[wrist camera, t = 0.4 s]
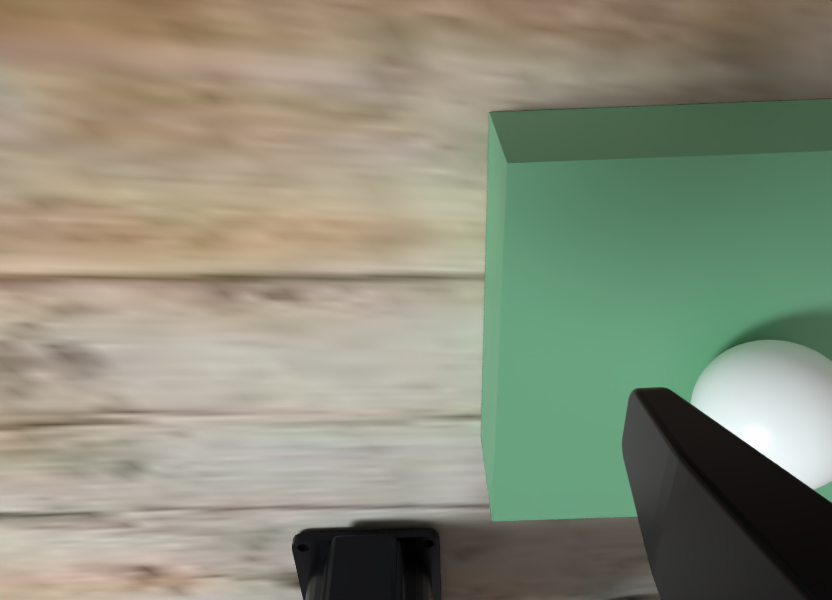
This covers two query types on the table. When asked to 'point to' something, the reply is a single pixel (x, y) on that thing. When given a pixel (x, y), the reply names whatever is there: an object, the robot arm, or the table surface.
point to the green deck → (637, 276)
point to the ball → (774, 404)
